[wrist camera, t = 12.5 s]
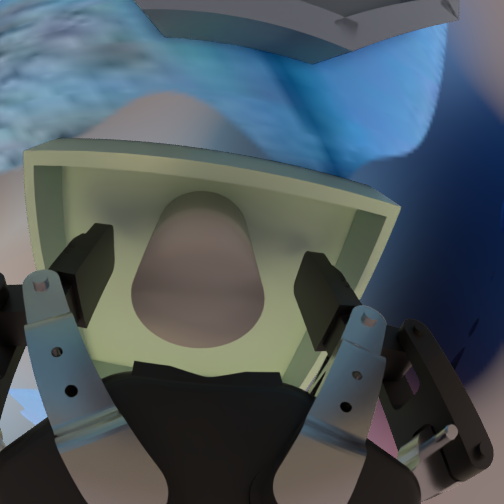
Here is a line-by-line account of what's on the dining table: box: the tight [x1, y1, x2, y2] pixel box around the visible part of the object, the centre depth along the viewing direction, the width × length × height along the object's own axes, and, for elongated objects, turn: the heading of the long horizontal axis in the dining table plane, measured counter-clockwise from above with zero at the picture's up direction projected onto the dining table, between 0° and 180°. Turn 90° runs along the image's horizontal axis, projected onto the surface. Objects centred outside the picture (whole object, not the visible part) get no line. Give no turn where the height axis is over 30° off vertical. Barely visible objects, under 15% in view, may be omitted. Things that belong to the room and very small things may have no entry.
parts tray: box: [23, 138, 401, 391], centre depth 14 cm, size 16×16×3 cm
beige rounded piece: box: [131, 191, 265, 348], centre depth 11 cm, size 4×4×5 cm
